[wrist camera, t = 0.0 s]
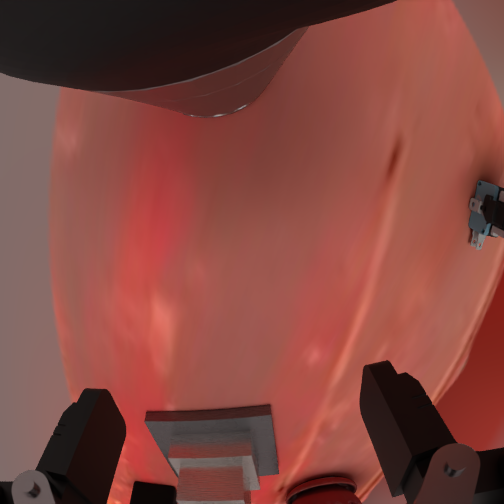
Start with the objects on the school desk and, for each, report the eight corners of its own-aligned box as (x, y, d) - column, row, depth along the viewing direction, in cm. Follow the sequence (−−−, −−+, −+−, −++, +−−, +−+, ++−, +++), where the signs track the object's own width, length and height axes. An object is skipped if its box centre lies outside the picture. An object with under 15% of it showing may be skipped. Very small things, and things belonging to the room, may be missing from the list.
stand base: (146, 411, 32) (129, 486, 23) (269, 404, 32) (279, 485, 23) (179, 470, 38) (173, 531, 28) (278, 465, 37) (285, 528, 28)
